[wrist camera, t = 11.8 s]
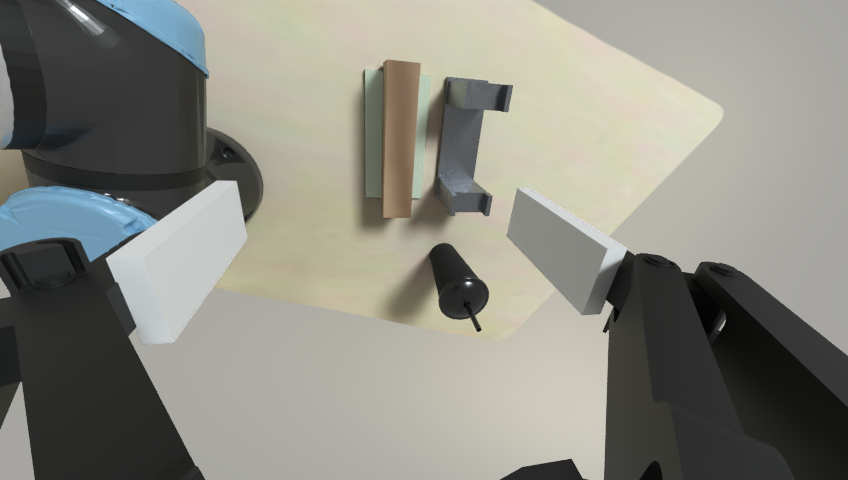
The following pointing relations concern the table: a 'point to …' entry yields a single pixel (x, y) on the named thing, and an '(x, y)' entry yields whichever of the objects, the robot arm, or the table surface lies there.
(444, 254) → the drinking cup
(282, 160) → the table surface
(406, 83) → the rail
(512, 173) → the table surface
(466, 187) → the rack
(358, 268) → the table surface
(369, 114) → the mat
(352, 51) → the table surface
